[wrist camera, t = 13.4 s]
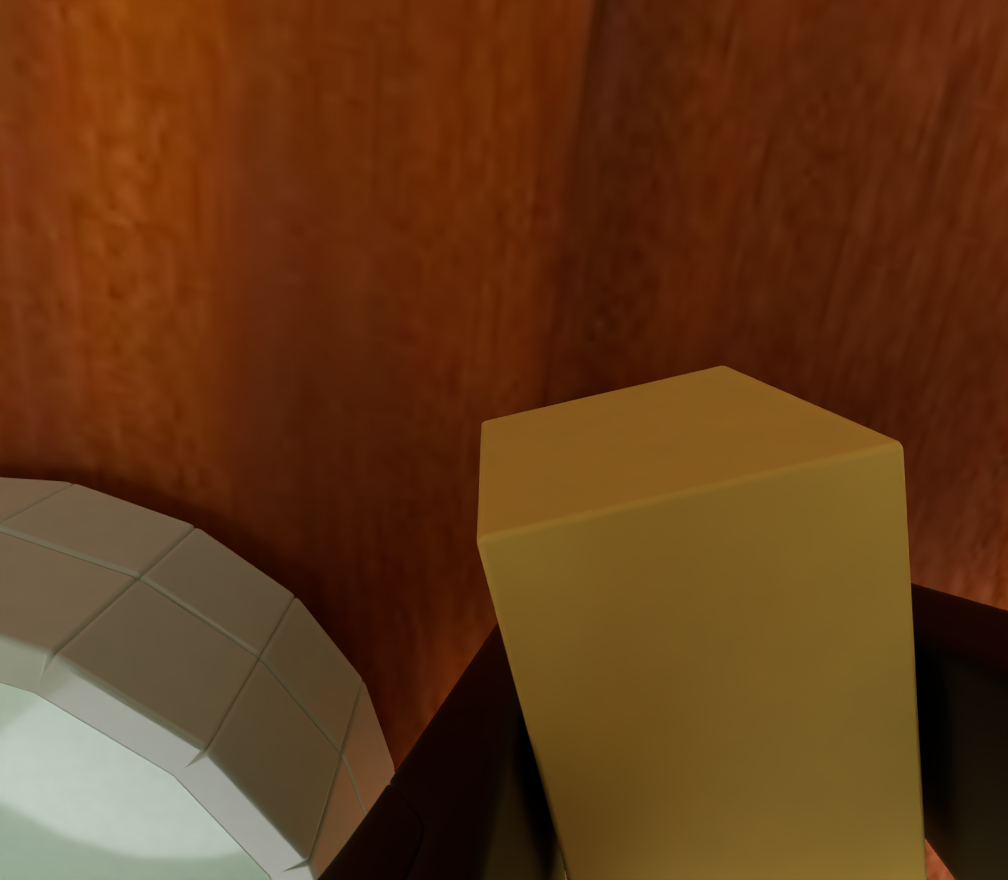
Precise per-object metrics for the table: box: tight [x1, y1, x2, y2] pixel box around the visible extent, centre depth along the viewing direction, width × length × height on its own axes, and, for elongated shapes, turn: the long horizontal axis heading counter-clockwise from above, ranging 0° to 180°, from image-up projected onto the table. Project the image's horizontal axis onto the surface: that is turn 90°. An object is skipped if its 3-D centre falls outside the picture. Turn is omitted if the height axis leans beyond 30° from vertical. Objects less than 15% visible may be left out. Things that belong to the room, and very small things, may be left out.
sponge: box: [477, 366, 927, 880], centre depth 8 cm, size 6×4×4 cm, turn 13°
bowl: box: [0, 477, 395, 880], centre depth 10 cm, size 12×12×4 cm
